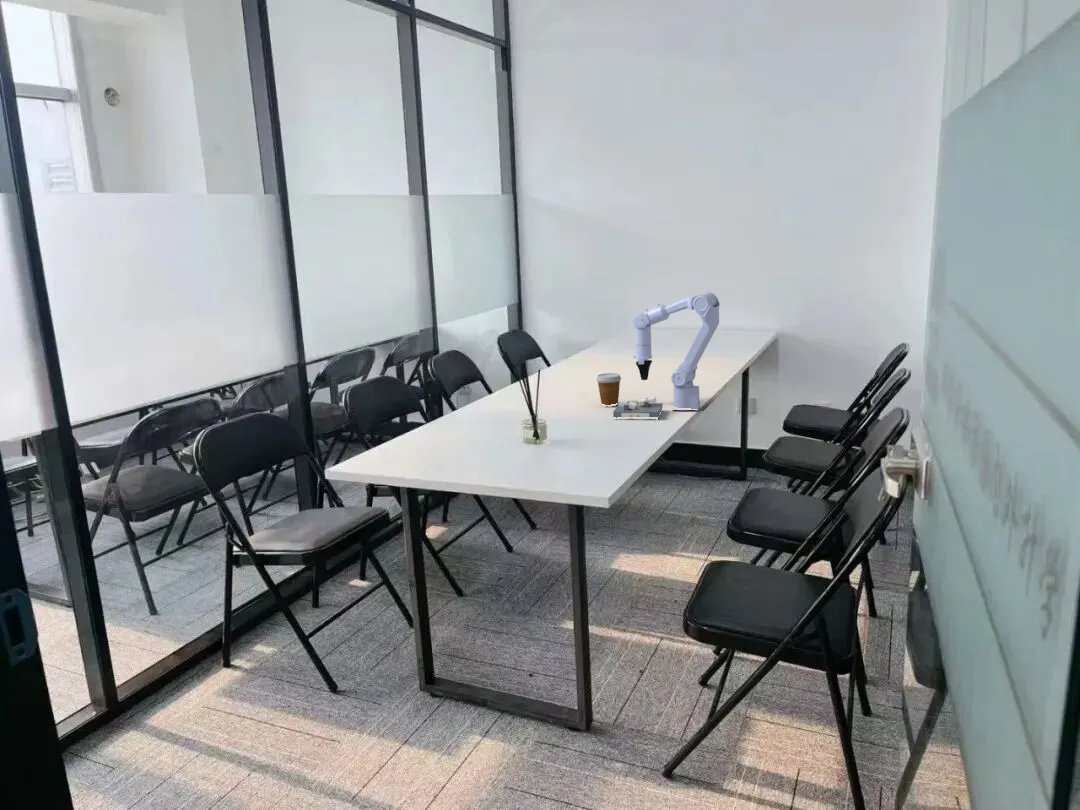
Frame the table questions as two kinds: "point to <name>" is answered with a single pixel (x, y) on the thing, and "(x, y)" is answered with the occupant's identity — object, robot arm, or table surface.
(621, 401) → the rocker
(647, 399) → the rocker
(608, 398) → the disposable coffee cup
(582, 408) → the table surface
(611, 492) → the table surface
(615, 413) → the console
